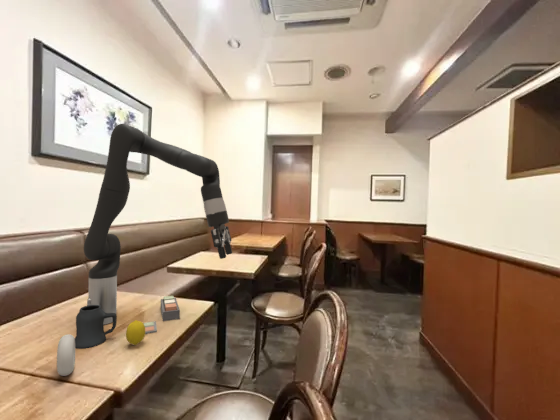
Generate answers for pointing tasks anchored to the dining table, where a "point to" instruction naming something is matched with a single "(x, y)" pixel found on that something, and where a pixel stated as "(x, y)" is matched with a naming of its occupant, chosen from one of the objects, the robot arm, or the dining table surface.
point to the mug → (92, 326)
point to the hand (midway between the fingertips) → (226, 256)
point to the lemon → (135, 332)
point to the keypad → (170, 312)
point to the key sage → (168, 298)
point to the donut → (66, 355)
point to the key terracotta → (170, 307)
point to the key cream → (169, 302)
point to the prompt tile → (150, 327)
